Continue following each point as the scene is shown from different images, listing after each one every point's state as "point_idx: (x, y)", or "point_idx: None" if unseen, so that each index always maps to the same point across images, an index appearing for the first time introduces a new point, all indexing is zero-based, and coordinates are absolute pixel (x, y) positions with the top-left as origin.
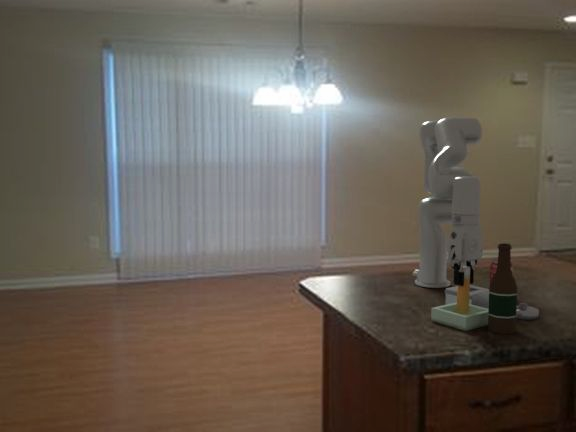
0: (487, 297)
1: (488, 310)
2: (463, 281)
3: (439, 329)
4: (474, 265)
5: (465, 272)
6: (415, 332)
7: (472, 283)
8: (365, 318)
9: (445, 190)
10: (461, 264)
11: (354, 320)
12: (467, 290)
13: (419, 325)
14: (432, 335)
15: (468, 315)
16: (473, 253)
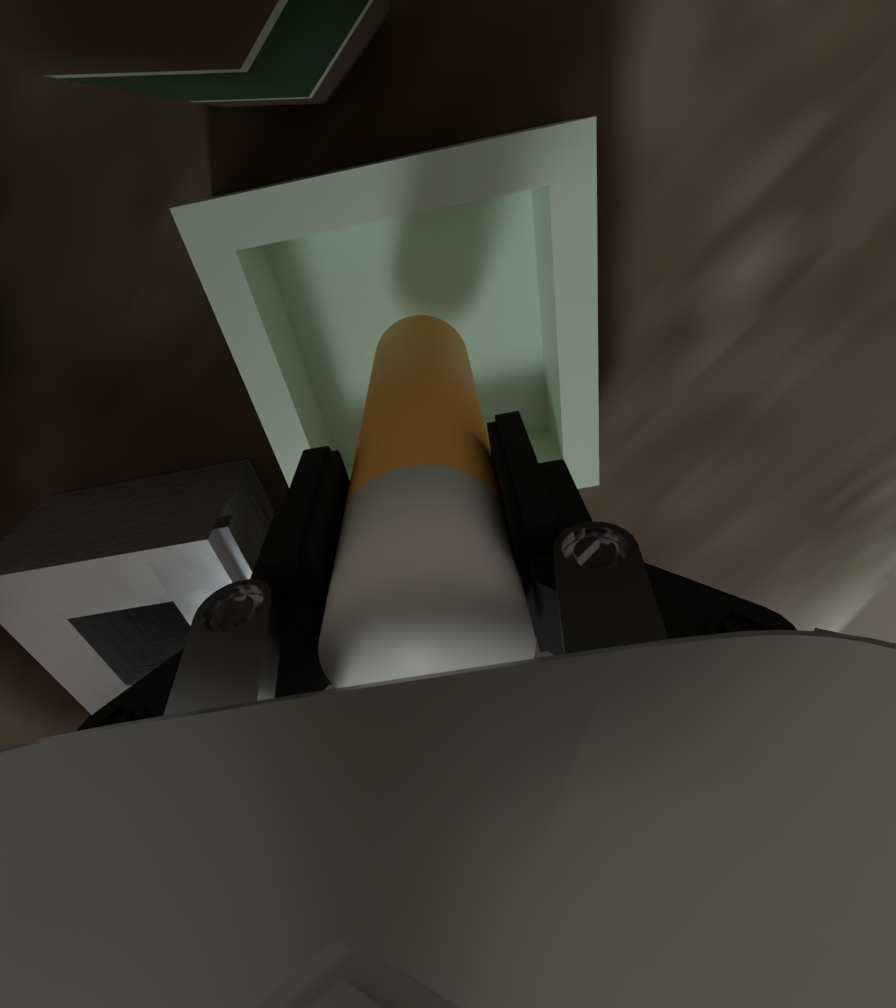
0: (49, 539)
1: (354, 16)
2: (508, 436)
3: (687, 259)
4: (206, 645)
5: (473, 527)
6: (870, 274)
7: (318, 447)
8: (808, 588)
9: None
10: (640, 632)
11: (875, 581)
12: (421, 389)
13: (711, 392)
14: (859, 148)
15: (522, 170)
16: (285, 949)
